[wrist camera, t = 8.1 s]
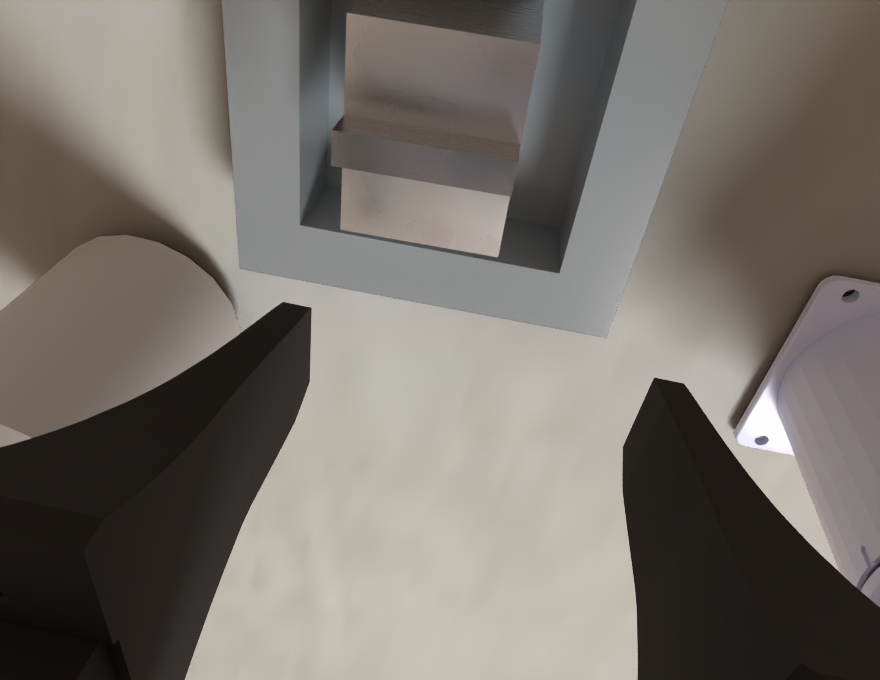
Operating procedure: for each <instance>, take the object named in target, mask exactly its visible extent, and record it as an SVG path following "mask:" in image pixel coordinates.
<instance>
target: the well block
mask: <svg viewBox="0 0 880 680" xmlns="http://www.w3.org/2000/svg"><path fill="white" fill-rule="evenodd" d="M221 1H222V16H223V31H224V46H225V60H226V75H227V90H228V105H229V120H230V135H231V150H232V164H233V179H234V194H235V209H236V224H237V239H238V254H239V268H240V269H243V270H248V271H253V272H259V273H264V274H269V275H275V276H280V277H285V278H290V279H296V280H301V281H306V282H312V283H317V284H322V285H327V286H333V287H338V288H343V289H349V290H354V291H359V292H365V293H370V294H375V295H380V296H386V297H391V298H396V299H402V300H407V301H412V302H417V303H423V304H428V305H433V306H439V307H444V308H449V309H454V310H460V311H465V312H470V313H476V314H481V315H486V316H491V317H497V318H502V319H507V320H513V321H518V322H523V323H529V324H534V325H539V326H544V327H550V328H555V329H560V330H566V331H571V332H576V333H581V334H587V335H592V336H597V337H603V338H607V336H608V333H609V330H610V327H611V324H612V322H613V319H614V316H615V313H616V311H617V308H618V305H619V302H620V300H621V297H622V294H623V291H624V288H625V286H626V283H627V280H628V277H629V275H630V272H631V269H632V266H633V263H634V261H635V258H636V255H637V252H638V250H639V247H640V244H641V241H642V239H643V236H644V233H645V230H646V227H647V225H648V222H649V219H650V216H651V214H652V211H653V208H654V205H655V203H656V200H657V197H658V194H659V191H660V189H661V186H662V183H663V180H664V178H665V175H666V172H667V169H668V166H669V164H670V161H671V158H672V155H673V153H674V150H675V147H676V144H677V142H678V139H679V136H680V133H681V130H682V128H683V125H684V122H685V119H686V117H687V114H688V111H689V108H690V106H691V103H692V100H693V97H694V94H695V92H696V89H697V86H698V83H699V81H700V78H701V75H702V72H703V70H704V67H705V64H706V61H707V58H708V56H709V53H710V50H711V47H712V45H713V42H714V39H715V36H716V33H717V31H718V28H719V25H720V22H721V20H722V17H723V14H724V11H725V9H726V6H727V3H728V0H544V7H543V20H542V32H541V44H540V49H539V54H538V59H537V64H536V69H535V74H534V79H533V84H532V89H531V94H530V99H529V104H528V109H527V114H526V119H525V124H524V129H523V134H522V139H521V144H520V153H519V161H518V166H517V171H516V176H515V181H514V186H513V191H512V196H511V197H510V200H509V205H508V210H507V215H506V220H505V225H504V230H503V235H502V240H501V245H500V250H499V255H498V257H493V256H487V255H481V254H476V253H470V252H464V251H459V250H453V249H447V248H442V247H436V246H430V245H425V244H419V243H413V242H408V241H402V240H396V239H391V238H385V237H379V236H374V235H368V234H362V233H357V232H351V231H345V230H340V224H341V190H342V168H340V167H335V166H331V135H332V129H333V128H334V126H335V125H336V124H337V123H338V121H339V120H340V119H341V118H342V116H343V115H344V86H345V51H346V17H347V12H348V11H349V10H351V9H352V8H353V7H354V6H356V5H357V4H358V3H359V2H361V1H362V0H221Z"/></svg>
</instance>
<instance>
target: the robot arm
mask: <svg viewBox="0 0 880 680" xmlns="http://www.w3.org/2000/svg"><path fill="white" fill-rule="evenodd" d="M849 290H855V292H854V293H853V294H852V295H849V296H846V297H842V296H843V294H844V293H845V292H847V291H849ZM310 344H311V308H309V307H304V306H300V305H295V304H290V303H285V302H283V303H281V304H280V305H278V306H277V307H275V308H274V309H272V310H271V311H270V312H268V313H267V314H266V315H264V316H263V317H262V318H260V319H259V320H258V321H256V322H255V323H254V324H252V325H251V326H250V327H248V328H247V329H246V330H244V331H243V332H242V333H240V334H239V335H238V336H236V337H235V338H233V339H232V340H231V341H229V342H228V343H226V344H225V345H223V346H222V347H221V348H219V349H218V350H216V351H215V352H213V353H212V354H210V355H209V356H207V357H206V358H204V359H203V360H201V361H200V362H198V363H196V364H195V365H193V366H192V367H190V368H188V369H187V370H185V371H184V372H182V373H180V374H179V375H177V376H175V377H174V378H172V379H170V380H168V381H167V382H165V383H163V384H161V385H159V386H158V387H156V388H154V389H152V390H150V391H148V392H146V393H144V394H142V395H140V396H138V397H136V398H134V399H132V400H130V401H127V402H125V403H123V404H120V405H118V406H116V407H113V408H111V409H109V410H106V411H104V412H102V413H99V414H97V415H95V416H92V417H90V418H87V419H85V420H83V421H80V422H77V423H75V424H72V425H69V426H66V427H63V428H61V429H58V430H55V431H52V432H49V433H46V434H43V435H40V436H37V437H34V438H31V439H28V440H24V441H21V442H18V443H14V444H11V445H7V446H3V447H0V680H185V677H186V674H187V671H188V668H189V665H190V662H191V659H192V656H193V653H194V651H195V648H196V645H197V642H198V639H199V637H200V634H201V631H202V628H203V625H204V623H205V620H206V617H207V614H208V611H209V609H210V606H211V603H212V601H213V598H214V595H215V593H216V590H217V587H218V585H219V582H220V579H221V577H222V574H223V572H224V569H225V566H226V564H227V561H228V559H229V556H230V554H231V551H232V549H233V546H234V544H235V541H236V538H237V536H238V533H239V531H240V528H241V526H242V523H243V521H244V519H245V517H246V515H247V513H248V511H249V509H250V506H251V504H252V503H253V501H254V499H255V497H256V495H257V493H258V491H259V489H260V487H261V485H262V484H263V482H264V480H265V478H266V476H267V474H268V472H269V470H270V468H271V467H272V465H273V463H274V461H275V459H276V457H277V455H278V453H279V451H280V449H281V448H282V446H283V444H284V442H285V440H286V438H287V436H288V434H289V432H290V430H291V428H292V426H293V424H294V422H295V420H296V417H297V415H298V412H299V409H300V407H301V404H302V401H303V398H304V396H305V393H306V390H307V387H308V384H309V382H310ZM734 435H735V439H736V442H738V443H739V444H740V445H743V446H748V447H753V448H758V449H763V450H768V451H774V452H779V453H784V454H789V455H794V456H795V458H796V460H797V463H798V465H799V468H800V471H801V473H802V476H803V478H804V481H805V483H806V486H807V489H808V491H809V494H810V496H811V499H812V501H813V504H814V507H815V509H816V512H817V514H818V517H819V519H820V522H821V525H822V527H823V530H824V532H825V535H826V537H827V540H828V543H829V545H830V548H831V550H832V553H833V556H834V558H835V561H836V563H837V566H838V568H839V571H840V572H839V571H838V570H837V569H835V568H834V567H833V566H832V565H831V564H830V563H829V562H828V561H827V560H826V559H825V558H824V557H822V556H821V555H820V554H819V553H818V552H817V551H816V550H815V549H814V548H813V547H812V546H811V545H810V544H809V543H808V542H807V541H806V540H805V539H804V538H803V536H802V535H801V534H800V533H799V532H798V531H797V530H796V529H795V528H794V527H793V526H792V525H791V524H790V523H789V522H788V521H787V520H786V519H785V517H784V516H783V515H782V514H781V513H780V512H779V511H778V510H777V508H776V507H775V506H774V505H773V504H772V503H771V502H770V500H769V499H768V498H767V497H766V495H765V494H764V493H763V492H762V491H761V489H760V488H759V487H758V486H757V485H756V483H755V482H754V481H753V480H752V478H751V477H750V476H749V475H748V473H747V472H746V471H745V469H744V468H743V467H742V465H741V464H740V463H739V462H738V460H737V459H736V457H735V456H734V455H733V453H732V452H731V451H730V449H729V448H728V447H727V445H726V444H725V442H724V441H723V440H722V438H721V437H720V435H719V434H718V432H717V431H716V430H715V428H714V427H713V425H712V424H711V422H710V421H709V419H708V418H707V416H706V415H705V413H704V412H703V411H702V409H701V408H700V406H699V405H698V403H697V402H696V400H695V399H694V397H693V396H692V394H691V393H690V392H689V390H688V389H687V387H686V386H685V385H684V384H683V383H678V382H673V381H668V380H663V379H658V378H654V379H653V382H652V384H651V386H650V388H649V390H648V393H647V395H646V397H645V399H644V401H643V404H642V406H641V408H640V410H639V413H638V415H637V417H636V419H635V421H634V424H633V426H632V428H631V430H630V432H629V435H628V437H627V439H626V441H625V444H624V446H623V497H624V506H625V514H626V522H627V530H628V537H629V545H630V552H631V560H632V567H633V575H634V583H635V592H636V604H637V635H638V680H880V283H876V282H871V281H866V280H860V279H855V278H849V277H844V276H830V277H827V278H825V279H824V280H822V281H821V282H820V283H819V284H818V286H817V287H816V289H815V291H814V293H813V294H812V296H811V298H810V299H809V301H808V303H807V305H806V306H805V308H804V310H803V312H802V313H801V315H800V317H799V319H798V320H797V322H796V324H795V326H794V327H793V329H792V331H791V333H790V334H789V336H788V338H787V340H786V341H785V343H784V345H783V346H782V348H781V350H780V352H779V353H778V355H777V357H776V359H775V360H774V362H773V364H772V366H771V367H770V369H769V371H768V373H767V374H766V376H765V378H764V380H763V381H762V383H761V385H760V387H759V388H758V390H757V392H756V393H755V395H754V397H753V399H752V400H751V402H750V404H749V406H748V407H747V409H746V411H745V413H744V414H743V416H742V418H741V420H740V421H739V423H738V425H737V427H736V428H735V431H734ZM759 436H764V437H762V438H757V437H759Z"/></svg>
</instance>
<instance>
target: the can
mask: <svg viewBox="0 0 880 680" xmlns="http://www.w3.org/2000/svg"><path fill="white" fill-rule="evenodd" d="M239 334H240V325H239V322H238V320H237V317H236V314H235V312H234V309H233V306H232V304H231V302H230V300H229V299H228V298H227V296H226V295H225V294H224V292H223V291H222V290H221V288H220V287H219V286H218V284H217V283H216V282H215V280H214V279H213V278H212V277H211V276H210V275H209V274H207V273H206V272H205V271H204V270H203V269H201V268H200V267H199V266H198V265H197V264H195V263H194V262H193V261H192V260H191V259H189V258H188V257H186V256H184V255H182V254H181V253H179V252H177V251H175V250H173V249H171V248H169V247H167V246H165V245H163V244H161V243H159V242H156V241H151V240H147V239H143V238H139V237H134V236H130V235H115V236H99V237H97V238H95V239H92V240H90V241H88V242H86V243H84V244H82V245H79V246H77V247H76V248H75V249H74V250H72V251H71V252H70V253H69V254H68V255H66V256H65V257H64V258H63V259H62V260H61V261H59V262H58V263H57V264H56V265H55V266H53V267H52V268H51V269H50V270H49V271H47V272H46V273H45V274H44V275H43V276H42V277H40V278H39V279H38V280H37V281H36V282H34V283H33V284H32V285H31V286H30V287H28V288H27V289H26V290H25V291H24V292H22V293H21V294H20V295H19V296H18V297H17V298H15V299H14V300H13V301H12V302H11V303H9V304H8V305H7V306H6V307H5V308H3V309H2V310H1V311H0V447H3V446H7V445H11V444H14V443H18V442H21V441H24V440H28V439H31V438H34V437H37V436H40V435H43V434H46V433H49V432H52V431H55V430H58V429H61V428H63V427H66V426H69V425H72V424H75V423H77V422H80V421H83V420H85V419H87V418H90V417H92V416H95V415H97V414H99V413H102V412H104V411H106V410H109V409H111V408H113V407H116V406H118V405H120V404H123V403H125V402H127V401H130V400H132V399H134V398H136V397H138V396H140V395H142V394H144V393H146V392H148V391H150V390H152V389H154V388H156V387H158V386H159V385H161V384H163V383H165V382H167V381H168V380H170V379H172V378H174V377H175V376H177V375H179V374H180V373H182V372H184V371H185V370H187V369H188V368H190V367H192V366H193V365H195V364H196V363H198V362H200V361H201V360H203V359H204V358H206V357H207V356H209V355H210V354H212V353H213V352H215V351H216V350H218V349H219V348H221V347H222V346H223V345H225V344H226V343H228V342H229V341H231V340H232V339H233V338H235V337H236V336H238V335H239Z"/></svg>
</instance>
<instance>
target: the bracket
mask: <svg viewBox="0 0 880 680" xmlns="http://www.w3.org/2000/svg"><path fill="white" fill-rule="evenodd" d="M543 7H544V0H362V1H361V2H359V3H358V4H357V5H356V6H354V7H353V8H352V9H351V10H349V11H348V12H347V17H346V51H345V86H344V115H343V116H342V118H341V119H340V120H339V121H338V123H337V124H336V125H335V126H334V128H333V129H332V135H331V166H335V167H340V168H342V190H341V224H340V230H345V231H351V232H357V233H362V234H368V235H374V236H379V237H385V238H391V239H396V240H402V241H408V242H413V243H419V244H425V245H430V246H436V247H442V248H447V249H453V250H459V251H464V252H470V253H476V254H481V255H487V256H493V257H498V255H499V250H500V245H501V240H502V235H503V230H504V225H505V220H506V215H507V210H508V205H509V200H510V197H511V196H512V191H513V186H514V181H515V176H516V171H517V166H518V161H519V153H520V144H521V139H522V134H523V129H524V124H525V119H526V114H527V109H528V104H529V99H530V94H531V89H532V84H533V79H534V74H535V69H536V64H537V59H538V54H539V49H540V44H541V32H542V20H543Z"/></svg>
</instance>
